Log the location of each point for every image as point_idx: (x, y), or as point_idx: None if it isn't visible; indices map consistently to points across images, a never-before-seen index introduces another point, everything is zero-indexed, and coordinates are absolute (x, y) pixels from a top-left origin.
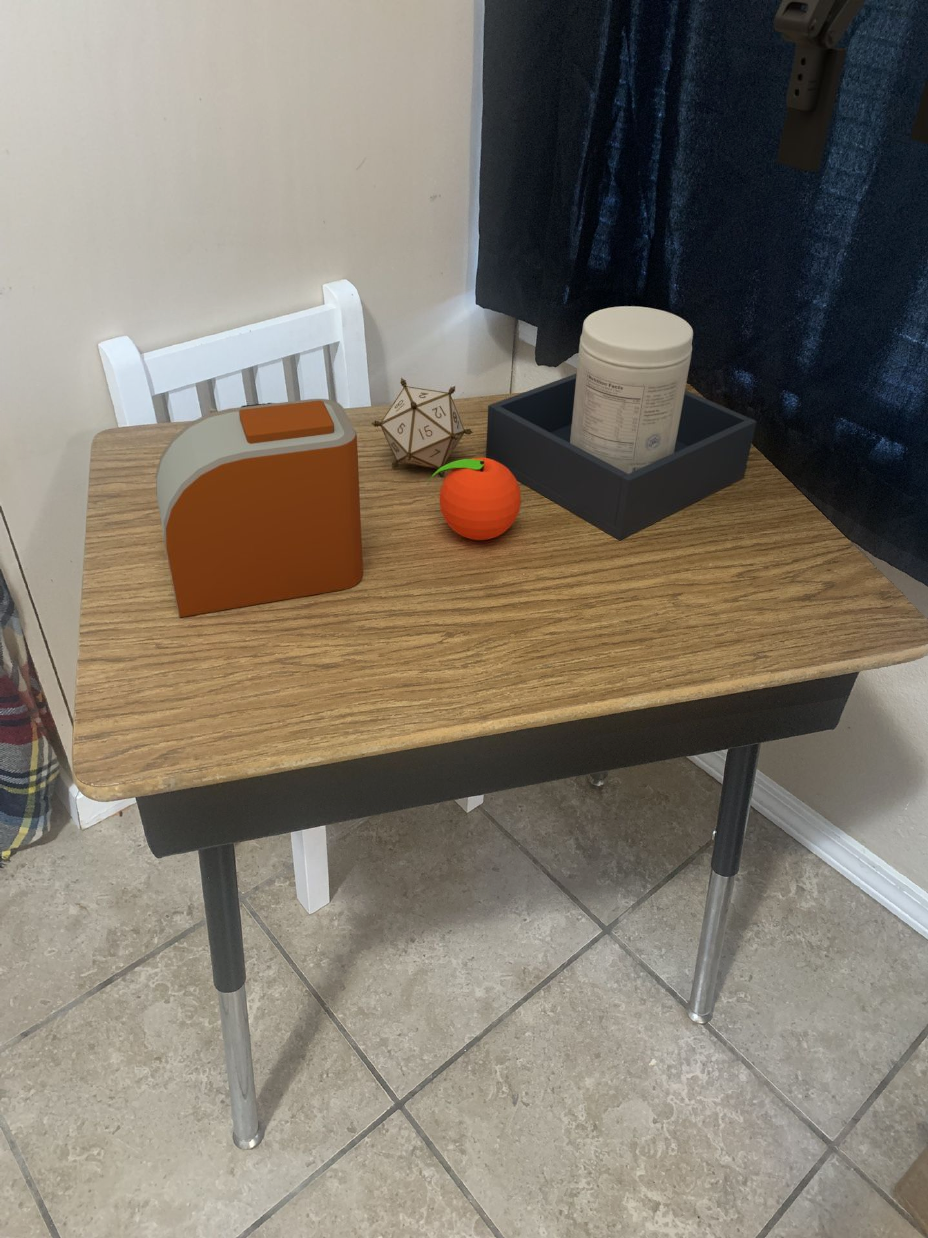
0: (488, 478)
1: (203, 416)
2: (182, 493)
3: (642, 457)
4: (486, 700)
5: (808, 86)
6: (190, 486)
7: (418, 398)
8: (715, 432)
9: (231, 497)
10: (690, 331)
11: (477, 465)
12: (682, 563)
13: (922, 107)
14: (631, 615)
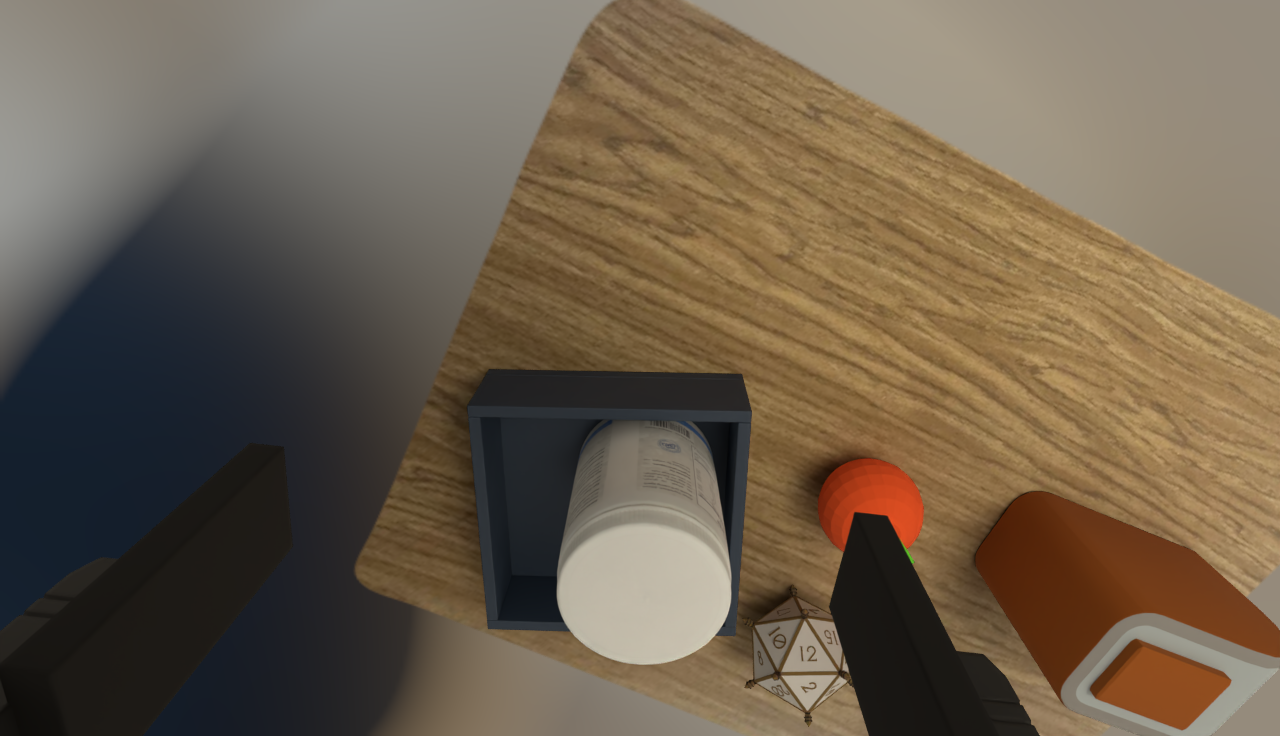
0: (895, 513)
1: None
2: None
3: (681, 439)
4: (1100, 266)
5: (1024, 710)
6: None
7: (819, 684)
8: (492, 439)
9: (1236, 621)
10: (591, 542)
11: None
12: (722, 295)
13: (245, 593)
14: (859, 265)
